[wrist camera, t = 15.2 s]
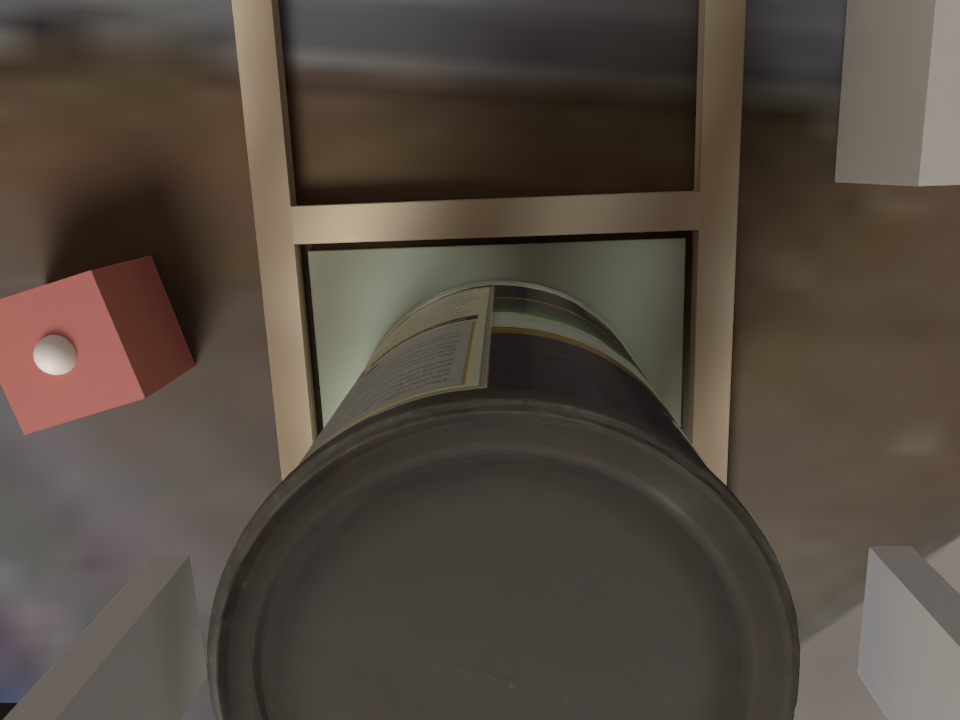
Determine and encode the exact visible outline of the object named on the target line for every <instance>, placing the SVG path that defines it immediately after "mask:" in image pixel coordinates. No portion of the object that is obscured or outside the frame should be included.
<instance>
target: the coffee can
mask: <svg viewBox="0 0 960 720" xmlns="http://www.w3.org/2000/svg"><path fill="white" fill-rule="evenodd" d="M207 657H208V664H207V668H208V681H209V688H210V696H211V703H212V708H213V712H214V716H215V718H216V720H793V718H794V710H795V707H796V703H797V695H798V684H799V667H800V665H799V663H800V644H799V637H798V627H797V615H796V612H795V608H794V604H793V601H792V597H791V594H790V591H789V588H788V585H787V583H786V580H785V577H784V575H783V572H782V569H781V567H780V565H779V562H778V560H777V558H776V555H775V553H774V551H773V550H772V548H771V546H770V545H769V543H768V541H767V539H766V538H765V536H764V535H763V533H762V531H761V530H760V528H759V527H758V525H757V524H756V523H755V521H754V520H753V518H752V517H751V516H750V514H749V513H748V512H747V510H746V509H745V508H744V506H743V505H742V504H741V503H740V501H739V500H738V499H737V498H736V496H735V495H734V494H733V492H732V491H731V490H730V489H729V488H728V487H727V486H726V485H725V484H724V483H723V482H722V481H721V480H720V479H719V478H718V477H717V476H716V475H715V474H714V473H713V472H712V471H711V470H710V469H709V468H708V467H707V466H706V465H705V463H704V462H703V460H702V459H701V457H700V456H699V454H698V453H697V451H696V450H695V448H694V447H693V445H692V444H691V442H690V441H689V439H688V438H687V436H686V435H685V433H684V432H683V431H682V429H681V428H680V427H679V425H678V424H677V422H676V421H675V420H674V418H673V417H672V416H671V414H670V413H669V411H668V410H667V408H666V407H665V405H664V404H663V402H662V401H661V400H660V398H659V397H658V395H657V394H656V392H655V391H654V389H653V388H652V387H651V385H650V384H649V382H648V381H647V379H646V377H645V376H644V374H643V373H642V372H641V370H640V369H639V367H638V366H637V364H636V362H635V359H634V357H633V355H632V354H631V352H630V350H629V349H628V347H627V345H626V344H625V343H624V341H623V340H622V339H621V337H620V336H619V335H618V334H617V332H616V331H615V330H614V329H613V328H612V327H611V326H610V325H609V324H608V323H607V322H606V321H605V319H603V318H602V317H601V316H600V315H598V314H597V313H596V312H595V311H593V310H592V309H591V308H589V307H588V306H586V305H585V304H583V303H581V302H580V301H578V300H576V299H574V298H573V297H571V296H569V295H567V294H565V293H562V292H559V291H557V290H554V289H551V288H548V287H545V286H541V285H537V284H533V283H526V282H519V281H507V280H500V281H498V280H490V281H481V282H475V283H471V284H466V285H462V286H459V287H456V288H452V289H449V290H447V291H444V292H442V293H440V294H438V295H436V296H434V297H432V298H430V299H428V300H426V301H424V302H423V303H421V304H420V305H418V306H417V307H415V308H414V309H412V310H411V311H410V312H408V313H407V314H406V315H405V316H403V317H402V318H401V319H400V320H399V321H398V322H397V323H396V324H395V325H394V326H393V327H392V328H391V329H390V330H389V331H388V332H387V333H386V334H385V335H384V337H383V338H382V339H381V341H380V342H379V344H378V345H377V347H376V348H375V350H374V352H373V354H372V355H371V357H370V359H369V361H368V363H367V365H366V368H365V369H364V370H363V372H362V373H361V374H360V376H359V378H358V379H357V381H356V382H355V384H354V385H353V386H352V388H351V389H350V391H349V392H348V394H347V395H346V396H345V398H344V399H343V401H342V402H341V404H340V405H339V407H338V408H337V410H336V411H335V413H334V414H333V416H332V417H331V418H330V420H329V421H328V423H327V424H326V426H325V427H324V428H323V430H322V431H321V433H320V434H319V435H318V437H317V438H316V440H315V441H314V443H313V444H312V446H311V447H310V449H309V450H308V452H307V453H306V455H305V456H304V457H303V459H302V460H301V462H300V463H299V465H298V466H297V467H296V468H295V469H294V470H293V471H292V472H291V473H289V475H288V476H287V477H286V478H285V479H284V480H283V481H282V482H281V483H280V484H279V485H278V486H277V487H276V489H275V490H274V491H273V492H272V493H271V494H270V495H269V497H268V498H267V499H266V500H265V502H264V503H263V504H262V505H261V507H260V508H259V509H258V510H257V512H256V513H255V514H254V516H253V517H252V519H251V520H250V521H249V523H248V524H247V526H246V527H245V529H244V531H243V533H242V534H241V536H240V538H239V540H238V542H237V544H236V545H235V547H234V549H233V551H232V553H231V555H230V557H229V559H228V562H227V564H226V566H225V568H224V571H223V573H222V575H221V578H220V581H219V584H218V588H217V591H216V594H215V597H214V602H213V607H212V613H211V618H210V624H209V634H208V642H207Z"/></svg>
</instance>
